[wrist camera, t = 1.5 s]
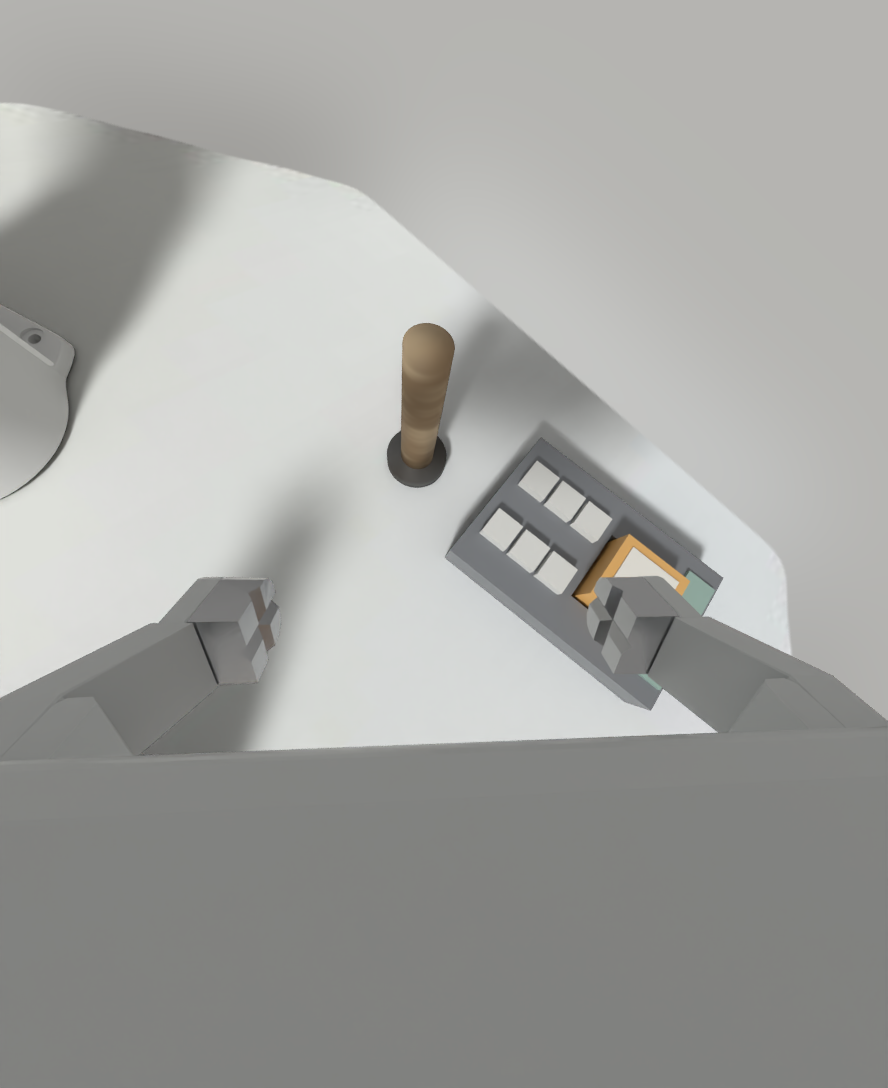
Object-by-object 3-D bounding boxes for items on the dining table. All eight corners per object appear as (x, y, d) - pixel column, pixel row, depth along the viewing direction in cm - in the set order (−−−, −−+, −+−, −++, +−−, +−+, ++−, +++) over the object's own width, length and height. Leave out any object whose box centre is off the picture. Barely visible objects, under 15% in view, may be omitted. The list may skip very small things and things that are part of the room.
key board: (444, 557, 29) (451, 547, 25) (528, 454, 32) (544, 432, 28) (624, 702, 28) (658, 713, 25) (693, 582, 31) (732, 576, 28)
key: (570, 596, 28) (591, 592, 24) (606, 542, 29) (630, 533, 26) (627, 641, 27) (655, 643, 24) (660, 585, 29) (691, 580, 26)
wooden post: (375, 463, 30) (359, 345, 18) (412, 424, 31) (421, 288, 19) (420, 498, 30) (436, 406, 17) (455, 458, 31) (494, 344, 18)
